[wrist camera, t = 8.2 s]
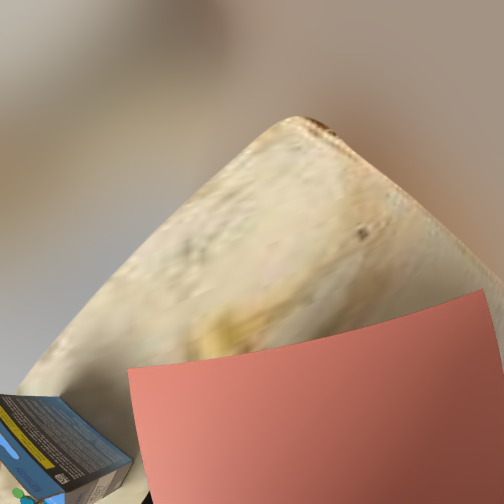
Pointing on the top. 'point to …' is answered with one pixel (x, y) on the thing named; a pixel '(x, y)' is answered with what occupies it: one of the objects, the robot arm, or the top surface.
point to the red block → (334, 417)
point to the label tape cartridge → (57, 451)
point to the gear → (24, 497)
